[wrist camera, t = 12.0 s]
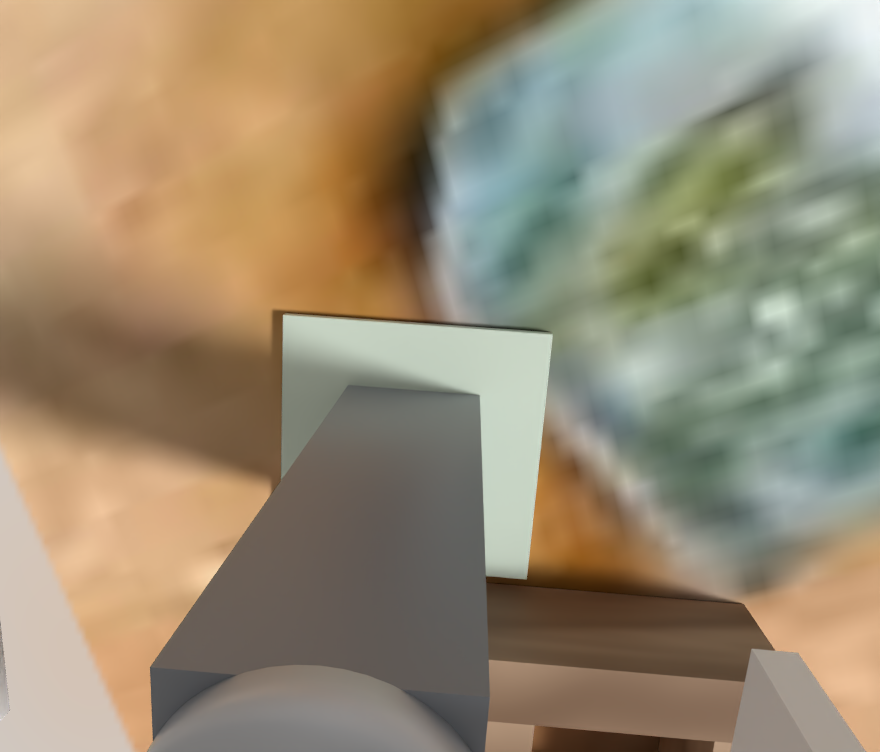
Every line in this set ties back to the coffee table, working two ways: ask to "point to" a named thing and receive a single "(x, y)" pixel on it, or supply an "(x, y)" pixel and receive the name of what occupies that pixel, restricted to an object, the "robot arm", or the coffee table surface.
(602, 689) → the brown square frame
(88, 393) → the coffee table surface
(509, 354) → the mat
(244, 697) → the plug
